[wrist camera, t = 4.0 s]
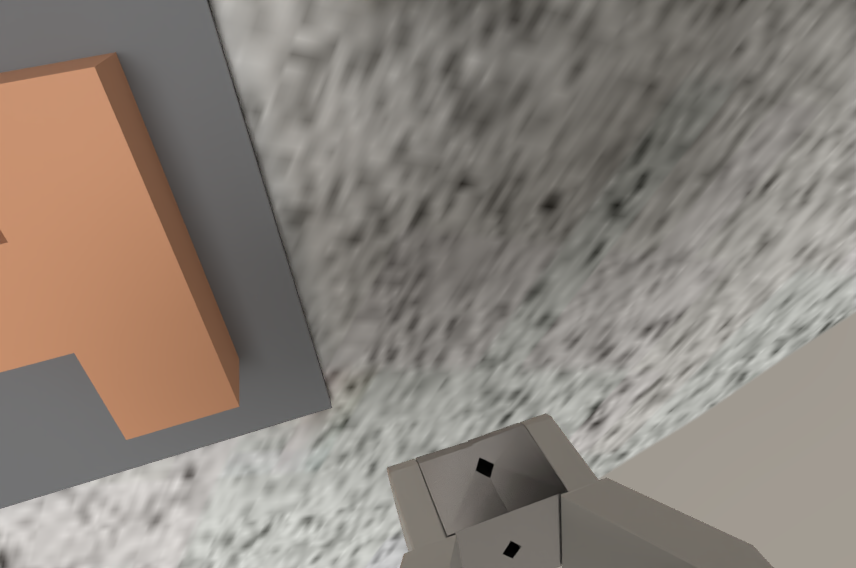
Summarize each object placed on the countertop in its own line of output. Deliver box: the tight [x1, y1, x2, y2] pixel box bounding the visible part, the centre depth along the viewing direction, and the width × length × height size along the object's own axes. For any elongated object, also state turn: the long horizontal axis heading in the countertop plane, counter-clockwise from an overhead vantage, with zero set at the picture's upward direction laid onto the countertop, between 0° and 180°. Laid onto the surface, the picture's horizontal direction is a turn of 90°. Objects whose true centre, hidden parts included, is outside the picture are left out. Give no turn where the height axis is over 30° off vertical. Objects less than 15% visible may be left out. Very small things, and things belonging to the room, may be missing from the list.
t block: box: [0, 52, 239, 440], centre depth 18 cm, size 10×12×3 cm
